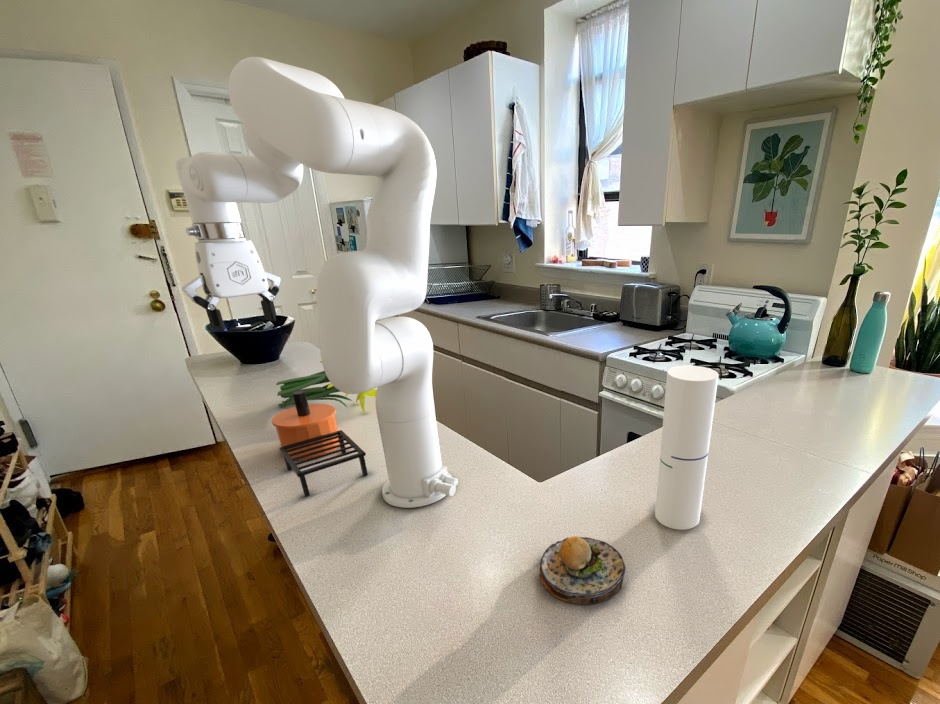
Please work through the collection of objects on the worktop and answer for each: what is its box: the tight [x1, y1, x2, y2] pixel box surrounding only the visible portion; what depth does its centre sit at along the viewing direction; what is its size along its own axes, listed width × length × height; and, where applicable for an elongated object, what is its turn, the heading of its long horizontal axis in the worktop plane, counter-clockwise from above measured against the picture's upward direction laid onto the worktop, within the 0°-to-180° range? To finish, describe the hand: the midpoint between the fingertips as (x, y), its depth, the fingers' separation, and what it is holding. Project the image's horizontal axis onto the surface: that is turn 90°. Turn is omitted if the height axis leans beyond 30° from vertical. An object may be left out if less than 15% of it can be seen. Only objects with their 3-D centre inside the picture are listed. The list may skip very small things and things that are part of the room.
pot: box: [275, 414, 339, 461], centre depth 100 cm, size 11×11×8 cm
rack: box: [278, 429, 369, 498], centre depth 91 cm, size 14×12×5 cm
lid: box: [271, 389, 337, 429], centre depth 98 cm, size 12×12×6 cm
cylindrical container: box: [654, 364, 719, 531], centre depth 72 cm, size 7×7×25 cm
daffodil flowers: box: [276, 360, 377, 414], centre depth 120 cm, size 17×15×35 cm
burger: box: [538, 536, 626, 605], centre depth 63 cm, size 12×12×8 cm
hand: (246, 324), depth 93 cm, fingers open, 9 cm apart
